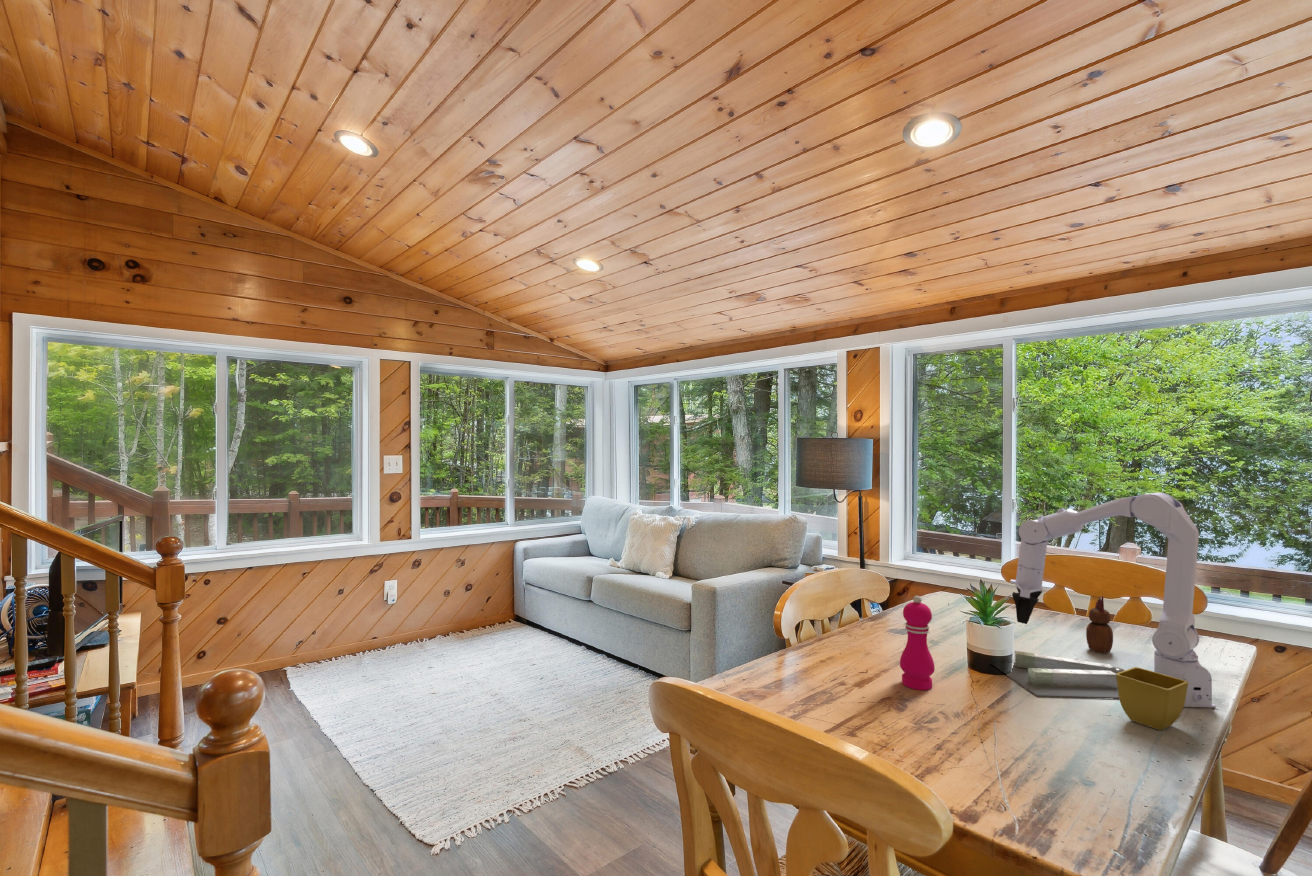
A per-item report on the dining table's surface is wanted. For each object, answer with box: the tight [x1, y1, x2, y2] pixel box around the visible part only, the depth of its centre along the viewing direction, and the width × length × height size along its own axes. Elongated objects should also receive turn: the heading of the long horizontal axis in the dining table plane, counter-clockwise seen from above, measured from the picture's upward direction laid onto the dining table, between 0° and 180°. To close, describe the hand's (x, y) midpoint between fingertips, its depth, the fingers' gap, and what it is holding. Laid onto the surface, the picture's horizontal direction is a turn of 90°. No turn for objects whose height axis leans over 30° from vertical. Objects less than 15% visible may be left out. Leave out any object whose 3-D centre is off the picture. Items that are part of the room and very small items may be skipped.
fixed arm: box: [1028, 668, 1117, 688], centre depth 137 cm, size 18×2×3 cm, turn 88°
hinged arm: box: [1014, 650, 1125, 674], centre depth 143 cm, size 21×4×3 cm, turn 63°
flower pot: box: [1116, 666, 1188, 731], centre depth 119 cm, size 9×9×9 cm
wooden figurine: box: [1085, 595, 1114, 654], centre depth 162 cm, size 7×6×15 cm
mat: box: [1006, 662, 1119, 700], centre depth 140 cm, size 20×27×1 cm
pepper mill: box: [899, 595, 935, 691], centre depth 137 cm, size 7×7×20 cm
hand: (1023, 618), depth 155 cm, fingers open, 7 cm apart
